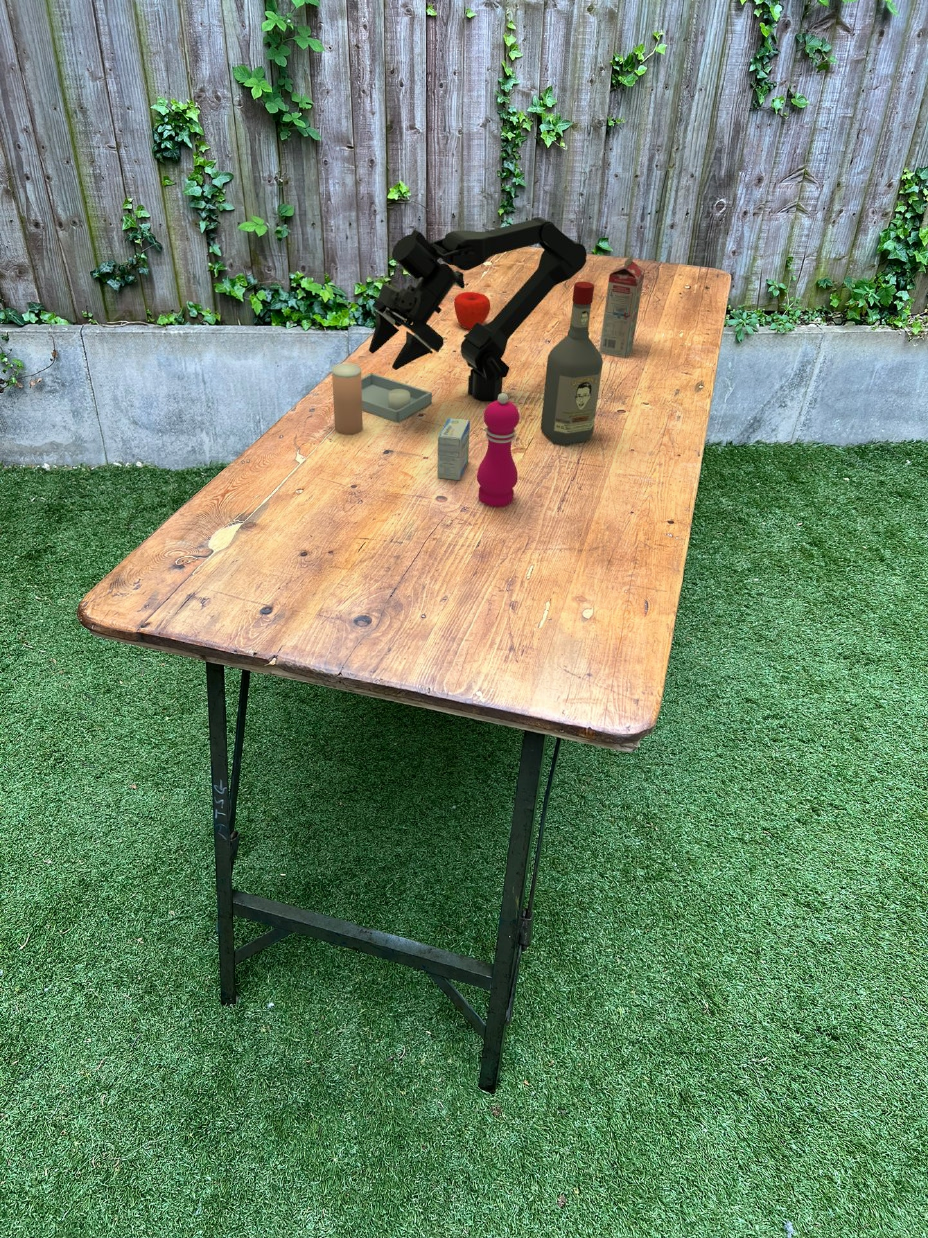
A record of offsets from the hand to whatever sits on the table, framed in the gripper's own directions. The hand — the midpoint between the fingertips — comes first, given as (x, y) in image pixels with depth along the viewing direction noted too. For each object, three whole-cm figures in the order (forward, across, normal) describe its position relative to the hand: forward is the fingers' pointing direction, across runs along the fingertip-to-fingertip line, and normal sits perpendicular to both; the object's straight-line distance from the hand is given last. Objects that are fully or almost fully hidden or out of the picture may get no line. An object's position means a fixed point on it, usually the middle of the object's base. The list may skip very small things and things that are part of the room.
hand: (381, 360), depth 178 cm
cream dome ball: (+5, -3, +12) cm, 14 cm away
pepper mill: (+8, +36, +11) cm, 39 cm away
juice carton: (-37, -7, +59) cm, 70 cm away
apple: (-21, -36, +42) cm, 60 cm away
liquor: (-10, +22, +31) cm, 40 cm away
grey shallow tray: (+7, -7, +12) cm, 15 cm away
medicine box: (+9, +24, +10) cm, 27 cm away
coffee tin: (+15, +1, +3) cm, 15 cm away
